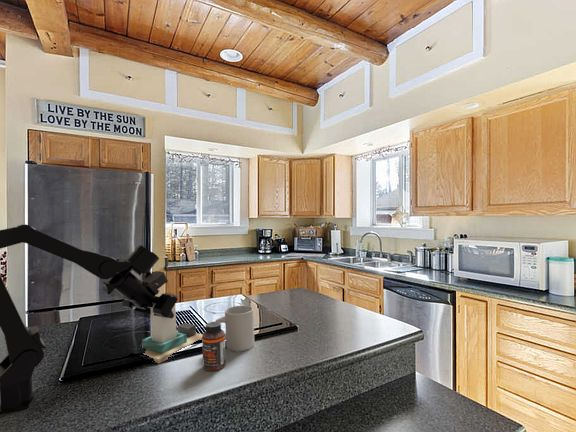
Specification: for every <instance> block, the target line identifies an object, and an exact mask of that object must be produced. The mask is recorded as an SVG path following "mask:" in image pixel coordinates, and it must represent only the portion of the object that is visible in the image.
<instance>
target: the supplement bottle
mask: <svg viewBox="0 0 576 432" xmlns="http://www.w3.org/2000/svg"><path fill="white" fill-rule="evenodd" d="M225 333H226V331H224V330H223V329H222V323H220V322H215V321H210V322H207V323H206V324H205V331H204V332H203V333H202V334H203V335H202V342H201V344H202V345H201V347H202V348H201V349H202V365H203V368H204V369H205V370H206V371H210V372H212V371H218V370H220V369H223V368H224V367H225V366H226V364H227V363H226V362H227V361H226V360H227V358H226V340H225Z"/></svg>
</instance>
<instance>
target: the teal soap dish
mask: <svg viewBox="0 0 576 432" xmlns="http://www.w3.org/2000/svg"><path fill="white" fill-rule="evenodd" d="M196 329H197V328H196V325H195V324H192V323H191V324H190V323H186V322H184V323H182V324H180V325H177V329H176V331H177V337H176V338H174V339H172V340H169V341H167V342H165V343H163V344H162V343H158V342H155V341H152V335H150V336H148V337H145V338H143V339H141V345H142V348H145V349H146V351H145V353H143V354H144V355H147V356H149V357H151V358H153V359H154V361H155V362H154V363H157V364H161V363H163V362H165V361H167V360H169V359H168V357H169V356H170V355H172V354H173V353H174V352H177V351H179V350H181V349H182V348H185V347H187V346H189V345H191V344H193V343H194V342H196V341H198V340H200V339H202V335H203V333H198V332H197V330H196Z"/></svg>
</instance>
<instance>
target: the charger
mask: <svg viewBox="0 0 576 432" xmlns="http://www.w3.org/2000/svg"><path fill="white" fill-rule="evenodd" d="M153 307H154V306H153ZM153 307H152V308H151V314H150V326H151V328H150V329H151V336H152V341H155V342H158V343H162V344H163V343H165V342H167V341H169V340H172V339H174V338H176V337H177V331H176V330H177V315H176V314H177V313H176V312H177V309H176V304H175V305H174V307H173V308H172V312H173V314H174V317H173V318H166V317H159V316H155V315H154V313H153Z"/></svg>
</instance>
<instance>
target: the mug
mask: <svg viewBox="0 0 576 432" xmlns="http://www.w3.org/2000/svg"><path fill="white" fill-rule="evenodd" d="M214 322H220V323H221V324H222V323H223V324H224V325H225V348H226V349H227V350H229V351H231V352H245V351H248V350H250V349H252V348H254V346H255V344H256V343H255V324H254V308H253V307H252V306H250V305H249V306H248V305H234V306H231V307H228V308H226V309H225V311H224V316H222V317H219V318H217V319H216V320H215V321H214Z"/></svg>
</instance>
